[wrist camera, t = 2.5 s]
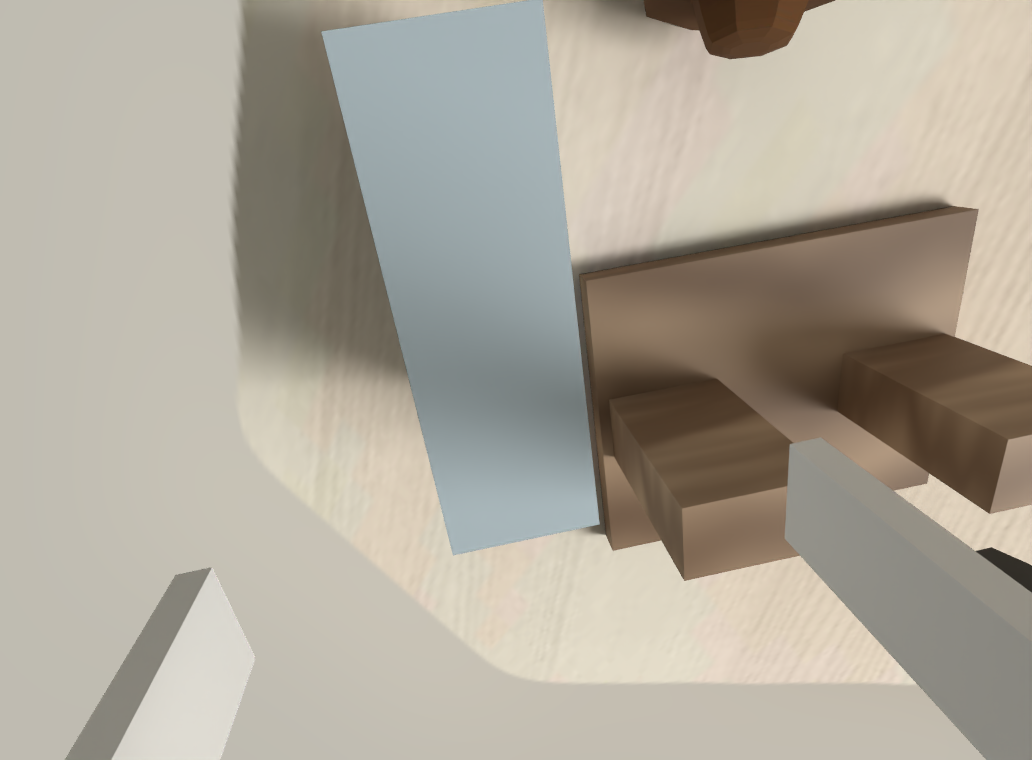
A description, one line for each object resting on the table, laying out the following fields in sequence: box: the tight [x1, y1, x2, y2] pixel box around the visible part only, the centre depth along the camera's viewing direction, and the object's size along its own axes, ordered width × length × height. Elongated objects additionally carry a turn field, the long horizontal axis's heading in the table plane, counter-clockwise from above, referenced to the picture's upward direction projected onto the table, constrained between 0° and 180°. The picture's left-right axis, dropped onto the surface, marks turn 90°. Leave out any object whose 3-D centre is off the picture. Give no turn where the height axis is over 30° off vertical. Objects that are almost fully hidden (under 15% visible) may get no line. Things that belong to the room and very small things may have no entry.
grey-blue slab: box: [321, 0, 600, 555], centre depth 17 cm, size 12×4×11 cm, turn 9°
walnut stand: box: [579, 206, 1032, 581], centre depth 23 cm, size 14×17×9 cm
